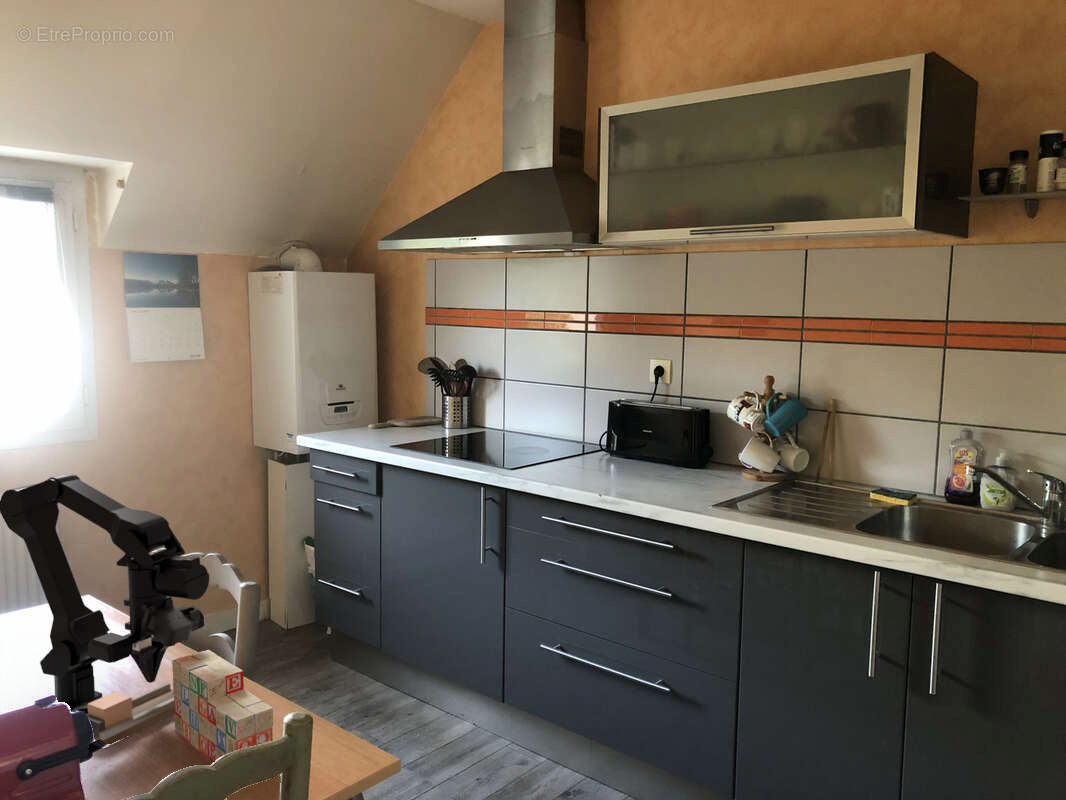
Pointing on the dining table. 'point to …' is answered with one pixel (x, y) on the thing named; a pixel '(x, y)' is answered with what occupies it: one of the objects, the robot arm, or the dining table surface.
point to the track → (138, 715)
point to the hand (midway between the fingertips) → (150, 681)
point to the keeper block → (111, 708)
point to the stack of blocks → (217, 706)
